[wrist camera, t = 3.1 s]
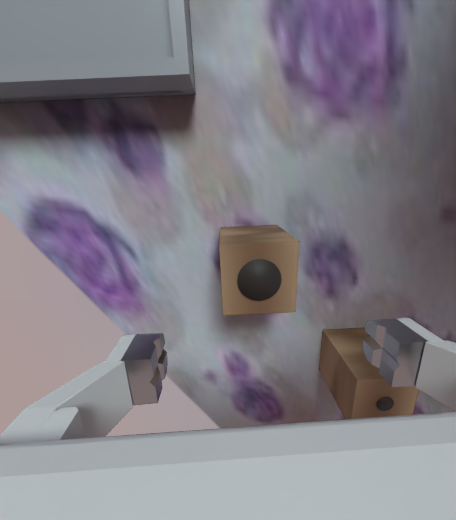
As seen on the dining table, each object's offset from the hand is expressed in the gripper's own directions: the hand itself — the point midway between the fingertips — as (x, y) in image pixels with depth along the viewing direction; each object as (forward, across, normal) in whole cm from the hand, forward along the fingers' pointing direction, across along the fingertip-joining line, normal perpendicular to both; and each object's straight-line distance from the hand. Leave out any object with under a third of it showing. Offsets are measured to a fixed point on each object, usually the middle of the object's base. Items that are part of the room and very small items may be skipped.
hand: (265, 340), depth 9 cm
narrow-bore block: (+11, -10, +9) cm, 17 cm away
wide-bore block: (+11, -1, -1) cm, 11 cm away
